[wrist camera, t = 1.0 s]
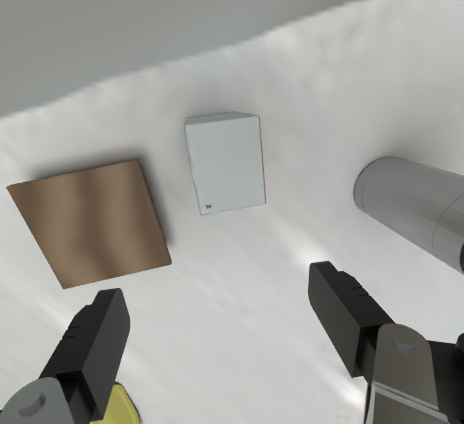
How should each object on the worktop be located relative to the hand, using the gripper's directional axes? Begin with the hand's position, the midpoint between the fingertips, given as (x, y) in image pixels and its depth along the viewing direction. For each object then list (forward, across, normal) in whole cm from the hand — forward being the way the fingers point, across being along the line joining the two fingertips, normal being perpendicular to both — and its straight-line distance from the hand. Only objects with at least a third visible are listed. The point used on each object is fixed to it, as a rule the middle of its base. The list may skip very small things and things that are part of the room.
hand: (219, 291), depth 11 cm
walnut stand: (+26, +14, +6) cm, 29 cm away
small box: (+26, -2, -2) cm, 26 cm away
